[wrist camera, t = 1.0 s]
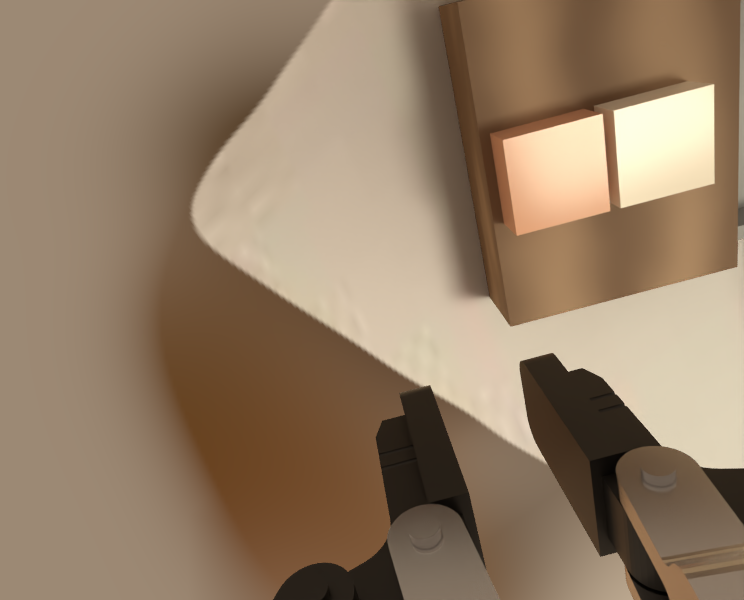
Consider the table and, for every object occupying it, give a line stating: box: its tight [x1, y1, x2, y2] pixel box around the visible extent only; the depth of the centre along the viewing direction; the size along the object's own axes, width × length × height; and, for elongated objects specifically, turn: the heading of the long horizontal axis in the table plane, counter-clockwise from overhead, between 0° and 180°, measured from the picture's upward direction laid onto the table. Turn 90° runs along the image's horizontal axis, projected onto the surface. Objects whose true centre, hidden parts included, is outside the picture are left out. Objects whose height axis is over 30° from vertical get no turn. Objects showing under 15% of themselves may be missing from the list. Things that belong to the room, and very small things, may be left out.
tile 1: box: [594, 81, 715, 208], centre depth 28 cm, size 4×4×2 cm
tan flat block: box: [439, 0, 741, 326], centre depth 31 cm, size 12×16×4 cm
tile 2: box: [490, 109, 610, 236], centre depth 28 cm, size 4×4×2 cm
